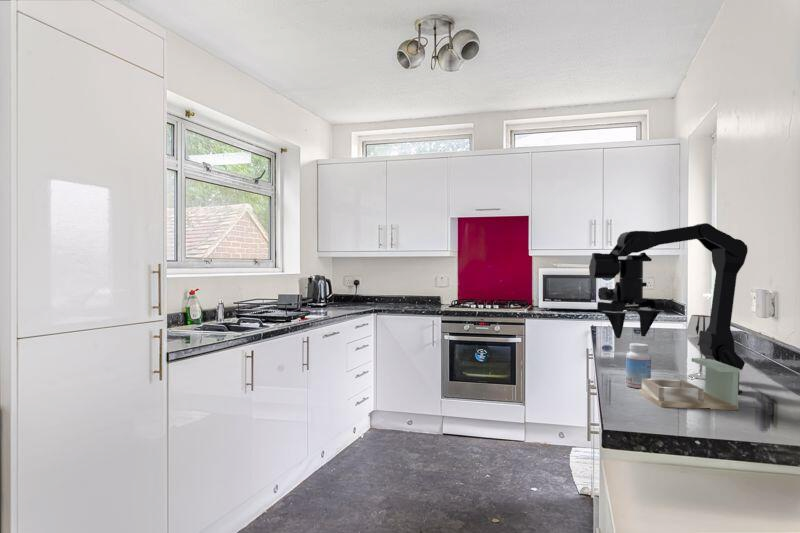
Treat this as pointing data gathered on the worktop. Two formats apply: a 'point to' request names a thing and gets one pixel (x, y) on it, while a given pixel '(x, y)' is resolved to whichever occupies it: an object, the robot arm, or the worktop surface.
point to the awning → (720, 380)
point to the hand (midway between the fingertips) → (630, 337)
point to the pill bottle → (637, 365)
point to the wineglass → (697, 336)
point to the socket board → (681, 395)
